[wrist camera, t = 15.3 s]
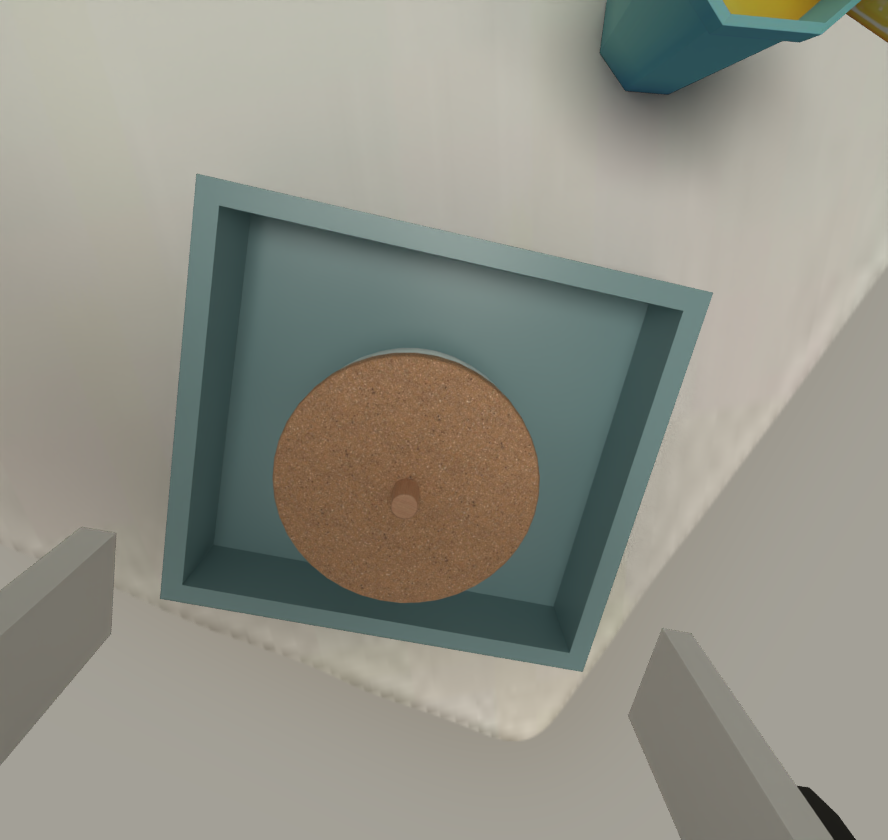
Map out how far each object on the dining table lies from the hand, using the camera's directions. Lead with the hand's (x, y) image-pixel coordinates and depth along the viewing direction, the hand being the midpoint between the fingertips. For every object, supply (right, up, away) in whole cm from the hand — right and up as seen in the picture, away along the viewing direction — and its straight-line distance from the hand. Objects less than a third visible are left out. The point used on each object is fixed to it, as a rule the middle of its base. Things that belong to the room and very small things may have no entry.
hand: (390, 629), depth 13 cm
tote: (0, +5, +17) cm, 18 cm away
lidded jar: (0, +4, +16) cm, 17 cm away
